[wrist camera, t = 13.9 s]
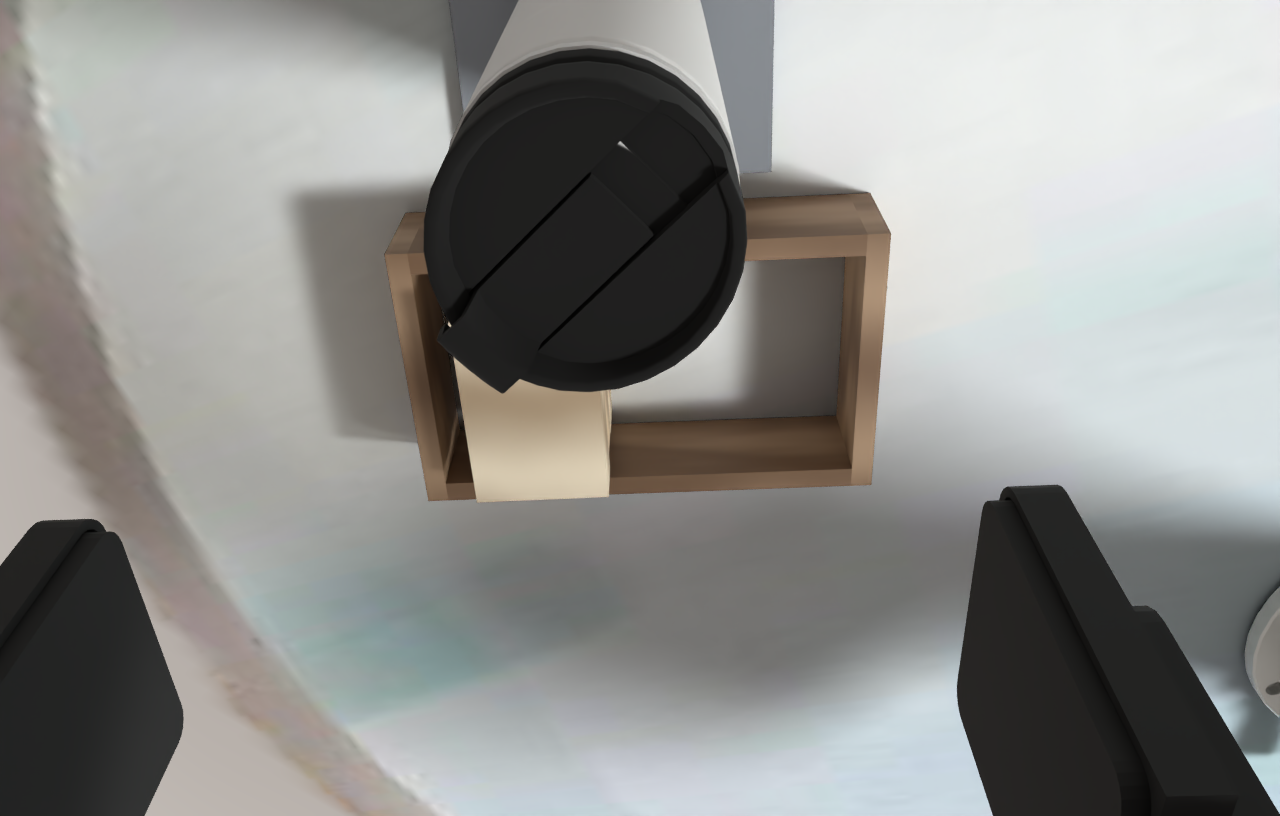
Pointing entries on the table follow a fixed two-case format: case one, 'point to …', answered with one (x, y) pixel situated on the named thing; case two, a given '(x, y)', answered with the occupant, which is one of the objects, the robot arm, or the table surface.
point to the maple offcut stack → (535, 440)
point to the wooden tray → (689, 447)
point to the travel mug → (588, 199)
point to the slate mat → (738, 44)
